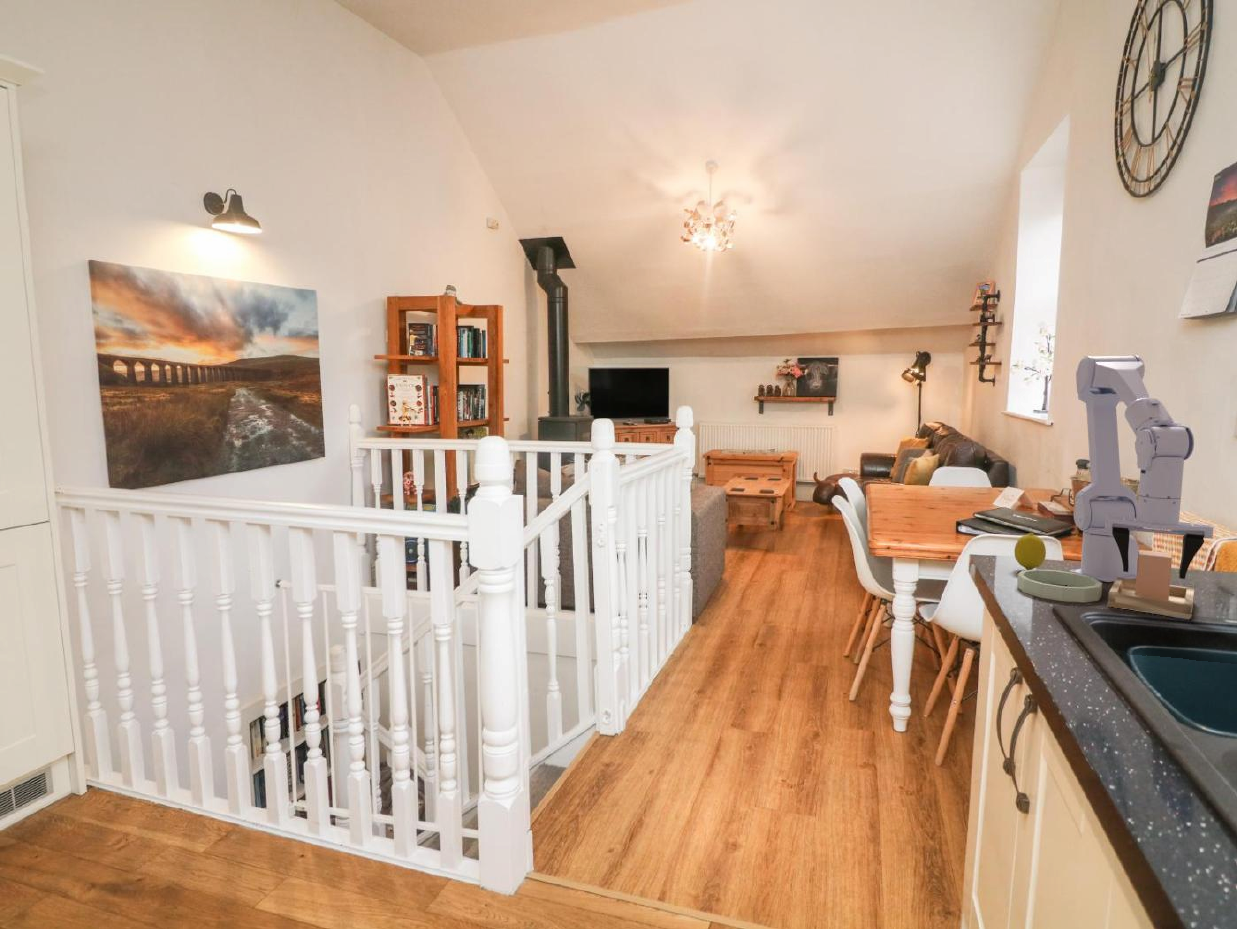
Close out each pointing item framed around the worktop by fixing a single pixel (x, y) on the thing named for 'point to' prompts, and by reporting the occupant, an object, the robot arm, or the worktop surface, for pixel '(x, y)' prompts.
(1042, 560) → the lemon
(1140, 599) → the birch tray
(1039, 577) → the ceramic ring
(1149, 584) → the pink block
